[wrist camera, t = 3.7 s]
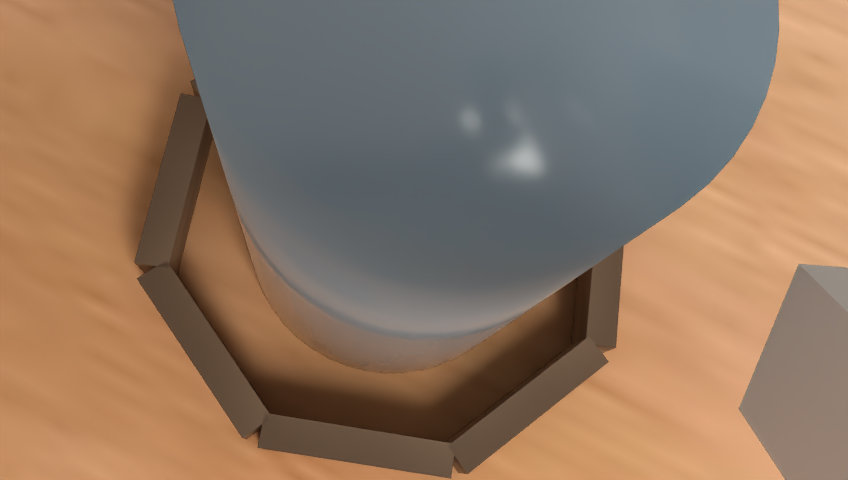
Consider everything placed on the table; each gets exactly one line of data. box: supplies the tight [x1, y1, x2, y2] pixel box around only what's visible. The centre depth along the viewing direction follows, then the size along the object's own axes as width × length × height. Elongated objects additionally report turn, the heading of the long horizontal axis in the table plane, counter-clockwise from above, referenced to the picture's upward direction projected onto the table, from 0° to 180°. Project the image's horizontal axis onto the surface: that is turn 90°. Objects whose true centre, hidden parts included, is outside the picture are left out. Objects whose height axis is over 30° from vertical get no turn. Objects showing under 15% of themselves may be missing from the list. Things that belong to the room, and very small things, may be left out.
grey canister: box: [173, 0, 779, 373], centre depth 15 cm, size 10×8×12 cm
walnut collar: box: [135, 79, 623, 478], centre depth 20 cm, size 12×12×1 cm
